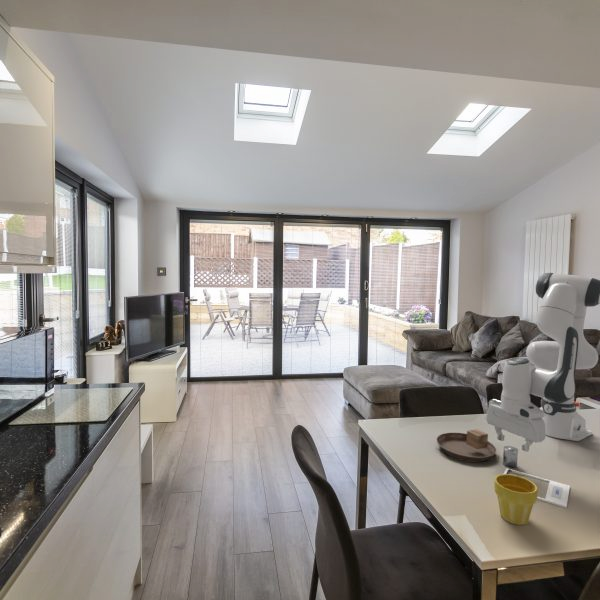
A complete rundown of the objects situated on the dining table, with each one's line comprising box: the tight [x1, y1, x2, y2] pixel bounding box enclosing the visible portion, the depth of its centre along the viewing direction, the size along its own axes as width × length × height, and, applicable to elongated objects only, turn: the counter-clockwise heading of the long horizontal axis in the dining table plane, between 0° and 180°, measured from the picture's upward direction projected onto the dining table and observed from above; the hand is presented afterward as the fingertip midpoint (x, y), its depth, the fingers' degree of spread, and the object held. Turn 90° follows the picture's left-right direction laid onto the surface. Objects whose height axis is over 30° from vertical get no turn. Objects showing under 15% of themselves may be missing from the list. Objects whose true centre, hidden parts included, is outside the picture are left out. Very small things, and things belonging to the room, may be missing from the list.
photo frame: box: [503, 467, 571, 509], centre depth 126 cm, size 15×1×18 cm
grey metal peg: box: [502, 445, 519, 469], centre depth 140 cm, size 4×4×6 cm
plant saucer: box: [436, 432, 497, 463], centre depth 150 cm, size 21×21×3 cm
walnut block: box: [466, 428, 489, 449], centre depth 148 cm, size 5×5×5 cm
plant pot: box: [493, 473, 539, 526], centre depth 109 cm, size 10×10×10 cm
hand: (512, 445), depth 139 cm, fingers open, 8 cm apart
